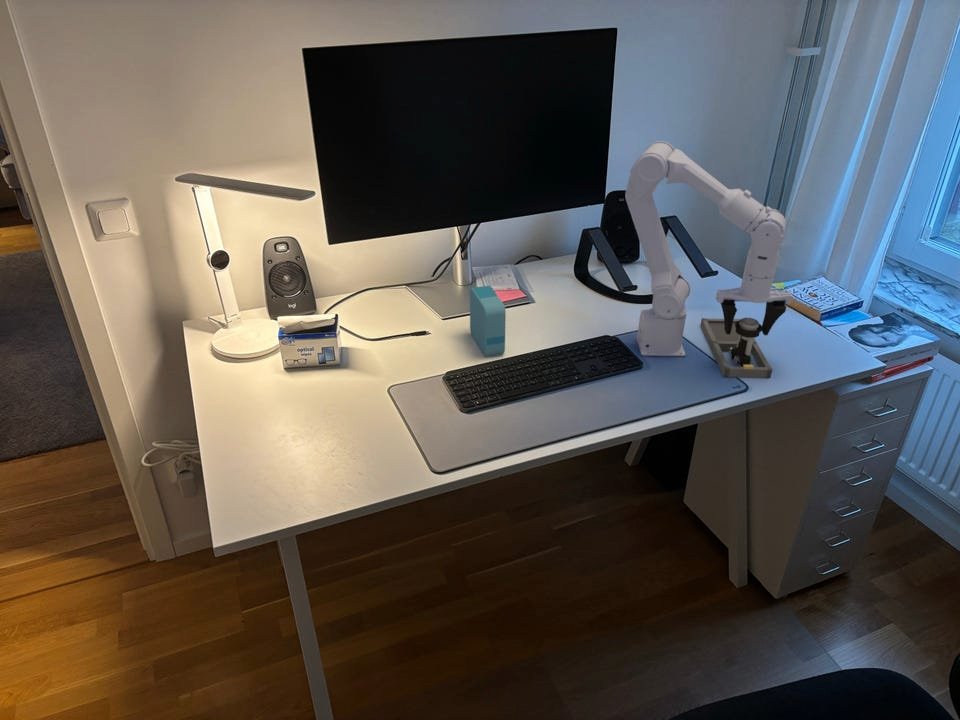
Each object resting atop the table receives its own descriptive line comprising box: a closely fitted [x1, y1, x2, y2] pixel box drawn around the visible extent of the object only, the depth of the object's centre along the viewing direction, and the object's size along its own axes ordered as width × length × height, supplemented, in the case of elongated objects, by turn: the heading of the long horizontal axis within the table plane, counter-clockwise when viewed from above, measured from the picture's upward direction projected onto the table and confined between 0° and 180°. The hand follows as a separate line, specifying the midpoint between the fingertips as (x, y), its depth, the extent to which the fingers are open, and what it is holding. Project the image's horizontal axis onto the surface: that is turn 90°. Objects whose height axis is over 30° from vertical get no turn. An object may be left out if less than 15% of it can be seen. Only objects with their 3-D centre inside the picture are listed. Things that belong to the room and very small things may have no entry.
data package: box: [469, 285, 507, 357], centre depth 160 cm, size 12×4×12 cm, turn 17°
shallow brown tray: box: [700, 317, 773, 379], centre depth 160 cm, size 10×22×3 cm, turn 178°
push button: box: [728, 317, 762, 367], centre depth 154 cm, size 7×5×10 cm
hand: (745, 332), depth 152 cm, fingers open, 7 cm apart
